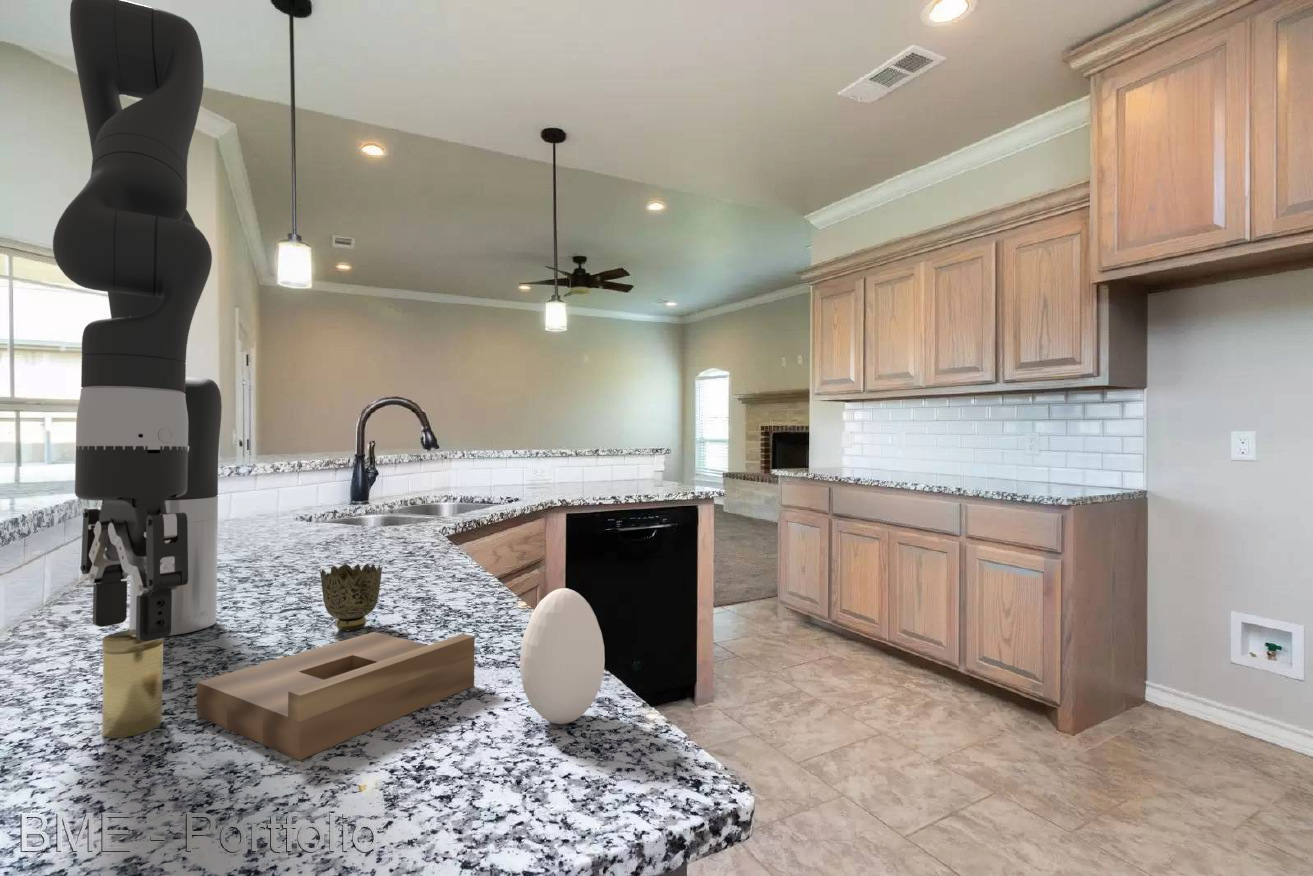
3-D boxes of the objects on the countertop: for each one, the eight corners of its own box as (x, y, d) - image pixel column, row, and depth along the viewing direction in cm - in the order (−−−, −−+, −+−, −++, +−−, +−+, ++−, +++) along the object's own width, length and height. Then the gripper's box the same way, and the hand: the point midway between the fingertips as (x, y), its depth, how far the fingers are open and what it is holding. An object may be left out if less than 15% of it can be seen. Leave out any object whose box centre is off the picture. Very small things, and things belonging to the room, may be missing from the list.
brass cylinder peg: (92, 731, 55) (94, 636, 55) (150, 713, 58) (151, 625, 58) (113, 742, 53) (114, 644, 53) (171, 723, 56) (172, 632, 56)
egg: (557, 749, 52) (558, 603, 52) (502, 723, 56) (503, 589, 57) (621, 719, 57) (622, 587, 57) (566, 698, 62) (566, 576, 62)
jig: (196, 715, 58) (197, 659, 58) (373, 658, 73) (374, 614, 73) (299, 760, 50) (299, 695, 50) (474, 685, 65) (474, 636, 65)
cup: (357, 638, 81) (357, 574, 81) (306, 634, 82) (307, 572, 82) (393, 622, 88) (393, 564, 88) (345, 619, 89) (346, 562, 90)
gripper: (45, 443, 56) (42, 630, 55) (116, 441, 49) (112, 657, 48) (148, 444, 62) (145, 612, 62) (224, 442, 55) (221, 632, 55)
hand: (131, 631), depth 55 cm, fingers open, 8 cm apart
